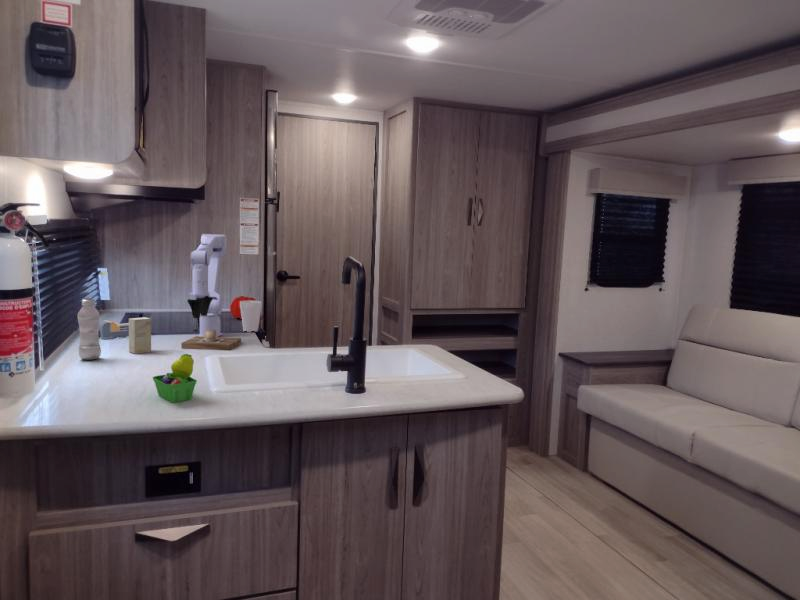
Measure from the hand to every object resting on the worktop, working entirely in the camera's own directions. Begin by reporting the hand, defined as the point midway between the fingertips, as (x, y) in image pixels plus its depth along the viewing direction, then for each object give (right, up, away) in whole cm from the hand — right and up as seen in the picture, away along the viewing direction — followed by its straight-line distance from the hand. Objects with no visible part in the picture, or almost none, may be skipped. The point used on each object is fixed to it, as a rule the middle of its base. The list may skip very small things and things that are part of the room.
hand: (200, 316), depth 219 cm
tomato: (-1, -3, +64) cm, 65 cm away
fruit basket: (+18, -19, -69) cm, 74 cm away
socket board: (+5, -11, -2) cm, 12 cm away
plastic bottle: (-25, -13, -31) cm, 43 cm away
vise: (-35, -8, +11) cm, 38 cm away
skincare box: (-15, -12, -18) cm, 26 cm away
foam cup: (+11, -7, +32) cm, 35 cm away
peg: (+5, -11, -3) cm, 13 cm away
